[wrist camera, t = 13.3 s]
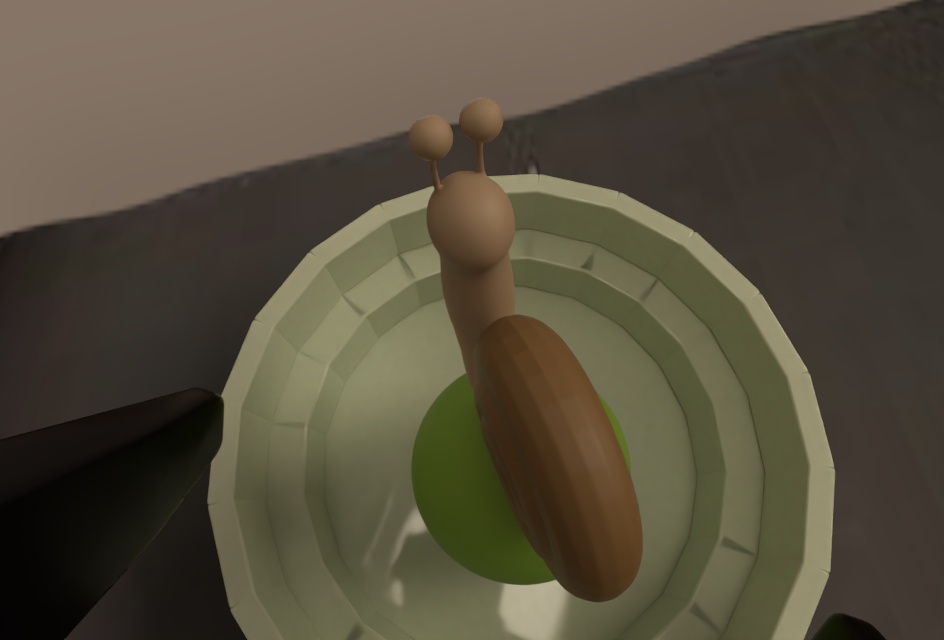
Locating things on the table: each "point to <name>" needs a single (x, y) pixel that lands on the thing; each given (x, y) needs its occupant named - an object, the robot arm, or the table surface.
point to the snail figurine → (514, 409)
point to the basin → (440, 363)
